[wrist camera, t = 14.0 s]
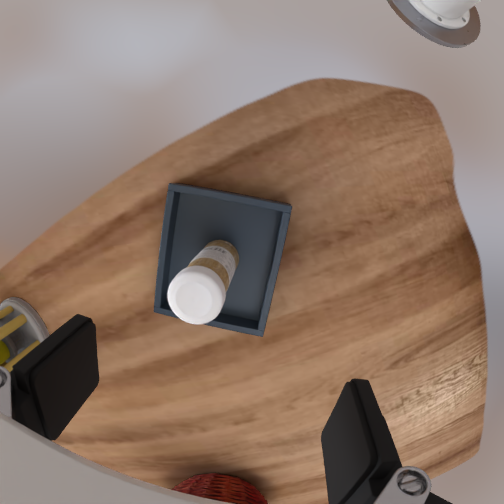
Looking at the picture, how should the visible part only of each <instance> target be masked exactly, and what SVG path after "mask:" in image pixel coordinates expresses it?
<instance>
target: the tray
mask: <svg viewBox="0 0 504 504" xmlns="http://www.w3.org/2000/svg"><path fill="white" fill-rule="evenodd" d="M291 210H292V206H291V204H288V203H283V202H278V201H273V200H268V199H263V198H258V197H253V196H248V195H243V194H238V193H232V192H227V191H222V190H216V189H211V188H205V187H199V186H193V185H187V184H181V183H169V186H168V193H167V199H166V206H165V212H164V220H163V227H162V235H161V243H160V251H159V260H158V269H157V279H156V290H155V302H154V312H156V313H160V314H163V315H167V316H171V317H175V318H179V317H177V316H176V315H175V313H174V312H173V311H172V309H171V308H170V305H169V303H168V296H167V294H168V288H169V285H170V283H171V282H172V280H173V279H174V278H175V276H176V275H177V274H178V273H179V272H180V271H181V270H183V269H185V268H187V267H188V265H189V264H190V262H191V261H192V260H193V259H194V258H195V257H196V256H197V255H198V254H199V253H200V252H201V251H202V250H203V249H204V247H205V246H206V245H207V244H208V243H210V242H212V241H215V240H223V241H227V242H229V243H231V244H232V245H233V246H234V247H235V248H236V250H237V252H238V254H239V263H238V266H237V268H236V270H235V272H234V275H233V277H232V280H231V282H230V285H229V287H228V290H227V292H226V298H225V302H224V304H223V307H222V309H221V311H220V313H219V314H218V316H217V317H216V318H215V319H213V320H212V321H210V322H208V323H205V325H209V326H213V327H218V328H222V329H227V330H232V331H237V332H241V333H246V334H251V335H256V336H262V337H263V334H264V330H265V325H266V321H267V317H268V313H269V309H270V304H271V300H272V296H273V292H274V287H275V283H276V279H277V274H278V270H279V265H280V261H281V256H282V252H283V247H284V243H285V238H286V234H287V229H288V224H289V220H290V215H291V214H290V213H291ZM179 319H180V318H179Z"/></svg>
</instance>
